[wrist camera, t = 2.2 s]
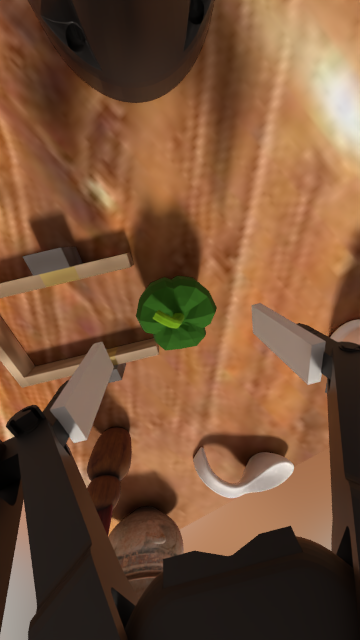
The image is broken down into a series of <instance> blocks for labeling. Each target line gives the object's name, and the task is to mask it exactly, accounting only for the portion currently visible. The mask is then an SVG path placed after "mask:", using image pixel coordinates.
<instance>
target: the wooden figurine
mask: <svg viewBox="0 0 360 640" xmlns="http://www.w3.org/2000/svg"><path fill="white" fill-rule="evenodd" d="M131 454H132V451H131V437H130V434H129V433H128V431H127V430H125V429H123V428H117V427H115V428H110V429H108V430H106V431H105V432H104V433H103V434H102V435H101V436H100V437H99V439H98V440H97V442H96V444H95V446H94V449H93V451H92V454H91V456H90V459H89V462H88V466H87V473H88V477H89V479H90V480H91V482H90V484H89V486H88V487H87V490H88V492H89V495H90V497H91V499H92V501H93V504H94V506H95V508H96V510H97V513H98V515H99V517H100V520H101V522H102V524H103V526H104V529H105V531H106V533H107V535H108V533H109V528H110V523H111V517H112V511H113V509H114V508H115V507H116V505H117V503H118V501H119V497H120V488H121V485H120V481H121V480H122V479H123V478H124V477H125V476H126V474H127V473H128V471H129V468H130V464H131Z"/></svg>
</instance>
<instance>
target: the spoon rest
mask: <svg viewBox="0 0 360 640" xmlns="http://www.w3.org/2000/svg"><path fill="white" fill-rule="evenodd" d="M193 462H194V466H195V469H196V471H197V473H198V475H199V477H200V478H201V480H202V481H203V482H204V483H205V484H206V485H207V486H208V487H209V488H210V489H211V490H213V491H214V492H216V493H218V494H220V495H222V496H224V497H227V498H236V497H239V496H241V495H243V494H246V493H250V492H261V491H265V490H268V489H271V488H274V487H276V486H278V485H280V484H281V483H283V482H284V481H285V480H286V479H287V478H288V477H289V476H290V475H291V474H292V472H293V469H294V465H293V463H292V462H291V461H289V460H288V459H287V458H285V457H283V456H281V455H278V454H274V453H268V452H262V453H258V454H255V455H254V456H252V457H251V458H250V459H249V461H248V464H247V465H246V467H245V470H244V473H243V476H242V478H241V480H240V481H239V482H238V483H235V484H232V483H228V482H226V481H223V480H222V479H220V478H219V477H218V476H216V475H215V473H214V472H213V471H212V469H211V468H210V466H209V463H208V461H207V458H206V455H205V451H204V448H203V447H201V448H200V449H199V450H198V452H197V454H196V455H195V457H194V459H193Z"/></svg>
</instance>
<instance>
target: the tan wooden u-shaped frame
mask: <svg viewBox="0 0 360 640" xmlns="http://www.w3.org/2000/svg"><path fill="white" fill-rule="evenodd" d="M23 258H24V260H25V262H26V264H27V265H28V267H29V269H30V271H31V273H32V275H33V276H28V277H24V278H20V279H16V280H12V281H7V282H3V283H0V298H3V297H7V296H12V295H16V294H20V293H24V292H28V291H33V290H37V289H41V288H45V287H49V286H54V285H58V284H62V283H66V282H70V281H75V280H79V279H83V278H87V277H91V276H96V275H100V274H104V273H108V272H112V271H117V270H121V269H125V268H129V267H131V266H133V265H134V264H133V261H132V258H131V254H130V252H129V253H125V254H121V255H117V256H112V257H108V258H104V259H100V260H96V261H91V262H87V263H82V260H81V258H80V256H79V253H78V251H77V249H76V247H61V248H56V249H52V250H48V251H44V252H40V253H35V254H31V255H27V256H23ZM106 351H107V353H108V355H109V357H110V360H111V362H112V364H113V366H114V368H113V371H112V374H111V376H110V379H109V382H108V383H110V382H115V381H119V380H122V377H123V373H124V370H125V366H126V362H131V361H135V360H139V359H143V358H147V357H151V356H156V355H159V345H158V344H157V343H156V342H155V340H154V338H152V339H148V340H144V341H139V342H135V343H131V344H127V345H123V346H119V347H114V348H110V349H106ZM85 356H86V354H85V355H81V356H77V357H73V358H69V359H64V360H60V361H56V362H52V363H48V364H44V365H39V366H35V365H34V364H33V362H32V361H31V359H30V358H29V356H28V355H27V354H26V352H25V351H24V349H23V348H22V346H21V345H20V344H19V342H18V341H17V339H16V338H15V336H14V335H13V334H12V332H11V331H10V329H9V328H8V326H7V325H6V323H5V322H4V321H3V319H2V318H1V316H0V360H1V362H2V363H3V364H4V366H5V367H6V368H7V369H8V371H9V372H10V373H11V374H12V376H13V377H14V378H15V380H16V381H17V382H18V383H19V385H20V386H21V387H27V386H31V385H35V384H39V383H43V382H47V381H52V380H56V379H60V378H64V377H68V376H72V375H73V374H74V372H75V371H76V369H77V368H78V366H79V365H80V363H81V362H82V360H83V359H84V357H85Z"/></svg>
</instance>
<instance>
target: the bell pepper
mask: <svg viewBox="0 0 360 640" xmlns="http://www.w3.org/2000/svg"><path fill="white" fill-rule="evenodd" d="M216 308H217V307H216V305H215V303H214V301H213V299H212V297H211V295H210V293H209V291H208V290H207V289H206V288H205V287H203V286H202V285H201V284H200V283H199V282H197V281H196V280H195V279H194V278H192V277H184V276H176V277H174V278H173V279H168V278H165V277H163V278H161V279H159V280H156V281H154V282H152V283H150V284H149V286H148V287H147V288H146V290H145V291H144V292H143V294H142V295H141V297H140V299H139V303H138V309H137V314H136V317H137V319H138V321H139V323H140V325H141V327H142V329H143V330H144V331H145V332H146V333H151V334H153V336H154V340H155V342H156V343H157V344H158V345H160V346H161V347H162V348H163V349H164V350H173V349H182V348H187V347H192V346H197V345H198V344H199V342H200V341H201V340H202V339H203V338H204V337H205V335H206V331H205V327H206V326H207V325H209V324H210V323H211V321H212V318H213V316H214V314H215V312H216Z"/></svg>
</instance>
